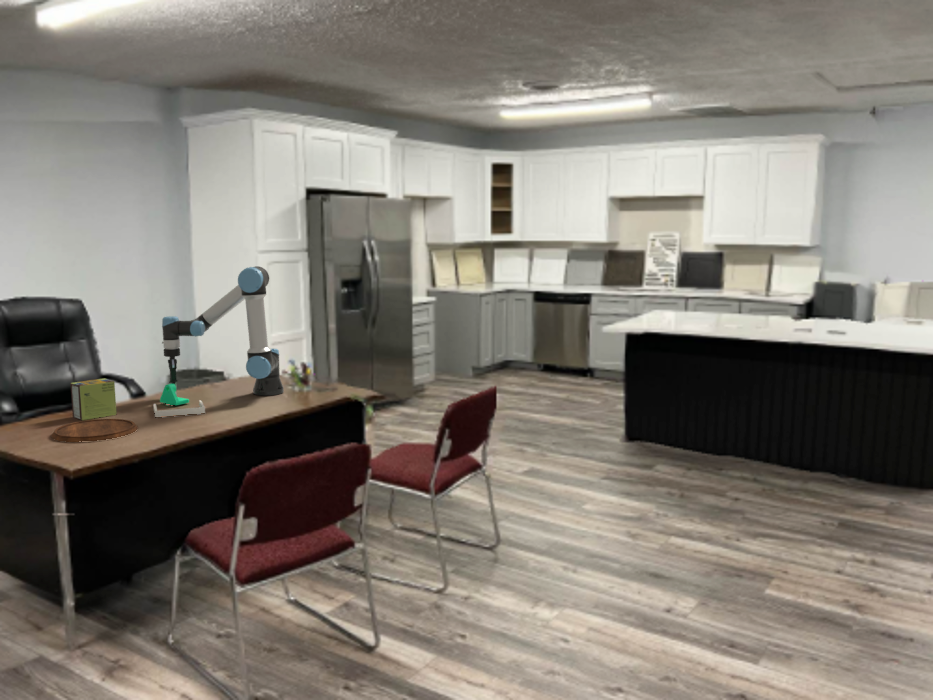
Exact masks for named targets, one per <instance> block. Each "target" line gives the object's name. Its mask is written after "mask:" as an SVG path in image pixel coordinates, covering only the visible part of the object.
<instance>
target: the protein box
mask: <svg viewBox="0 0 933 700" xmlns="http://www.w3.org/2000/svg"><path fill="white" fill-rule="evenodd" d="M115 385H116V383H115V380H111V379H108V378H98V379H89V380H84V381H77V382H76V381H75V382H70V385H69V386H70V395H71V397H70V398H71V408H72V412H71V413H72V418H74V419H77V420H80V421H86V420H95V419H100V418H99V417H101V418H107V417H111V416H112V415H113V416H116V414H117V401H116V386H115ZM106 416H107V417H106ZM94 418H95V419H94Z"/></svg>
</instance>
